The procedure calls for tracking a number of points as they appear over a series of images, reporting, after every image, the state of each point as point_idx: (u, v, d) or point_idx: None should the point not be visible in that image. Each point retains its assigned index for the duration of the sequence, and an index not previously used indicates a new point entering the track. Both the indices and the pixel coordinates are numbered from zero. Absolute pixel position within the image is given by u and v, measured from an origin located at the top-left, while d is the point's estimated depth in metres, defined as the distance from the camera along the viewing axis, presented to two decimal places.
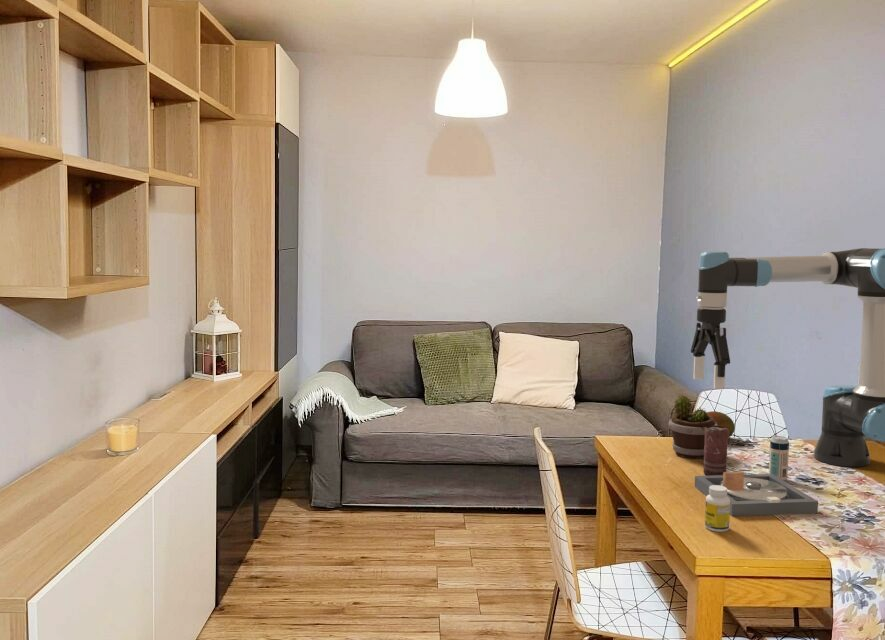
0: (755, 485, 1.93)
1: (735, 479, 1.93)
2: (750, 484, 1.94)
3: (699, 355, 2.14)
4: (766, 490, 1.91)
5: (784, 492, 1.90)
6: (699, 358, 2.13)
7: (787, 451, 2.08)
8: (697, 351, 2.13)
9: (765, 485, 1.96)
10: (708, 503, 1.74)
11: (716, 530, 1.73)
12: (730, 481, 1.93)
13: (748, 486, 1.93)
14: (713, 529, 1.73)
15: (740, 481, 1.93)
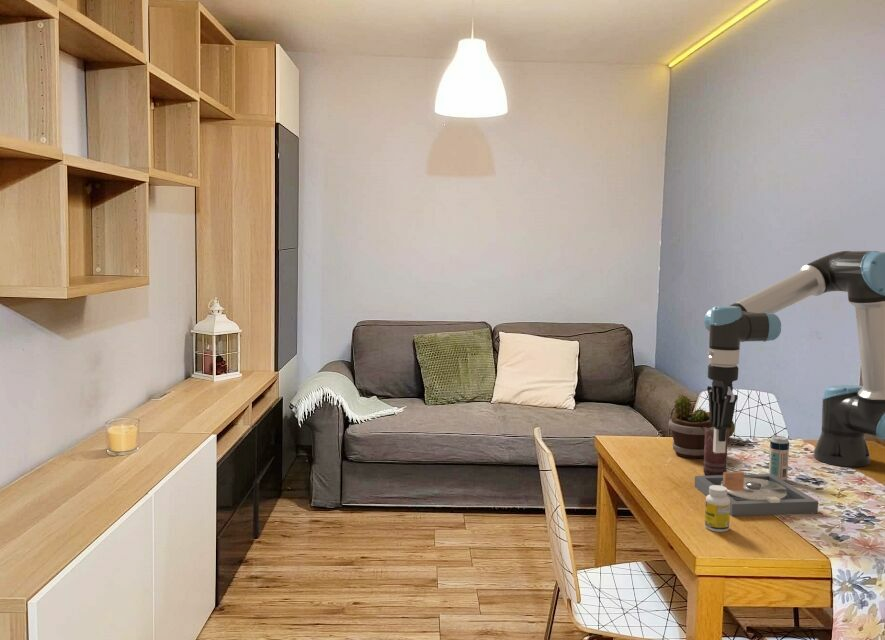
0: (755, 485, 1.93)
1: (735, 479, 1.93)
2: (750, 484, 1.94)
3: None
4: (766, 490, 1.91)
5: (784, 492, 1.90)
6: None
7: (787, 451, 2.08)
8: (716, 418, 1.98)
9: (765, 485, 1.96)
10: (708, 503, 1.74)
11: (716, 530, 1.73)
12: (730, 481, 1.93)
13: (748, 486, 1.93)
14: (713, 529, 1.73)
15: (740, 481, 1.93)
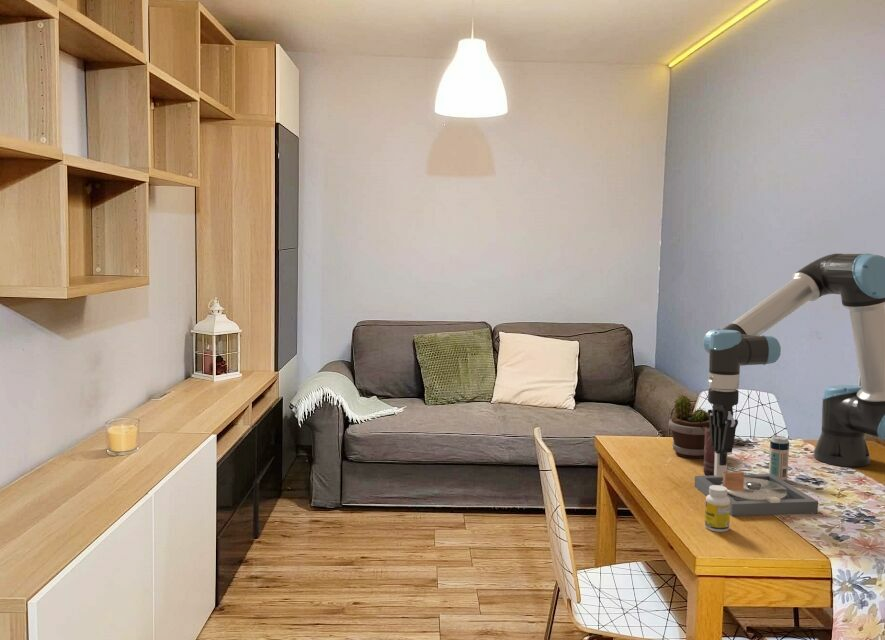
0: (755, 485, 1.93)
1: (735, 479, 1.93)
2: (750, 484, 1.94)
3: None
4: (766, 490, 1.91)
5: (784, 492, 1.90)
6: None
7: (787, 451, 2.08)
8: (717, 442, 1.99)
9: (765, 485, 1.96)
10: (708, 503, 1.74)
11: (716, 530, 1.73)
12: (730, 481, 1.93)
13: (748, 486, 1.93)
14: (713, 529, 1.73)
15: (740, 481, 1.93)
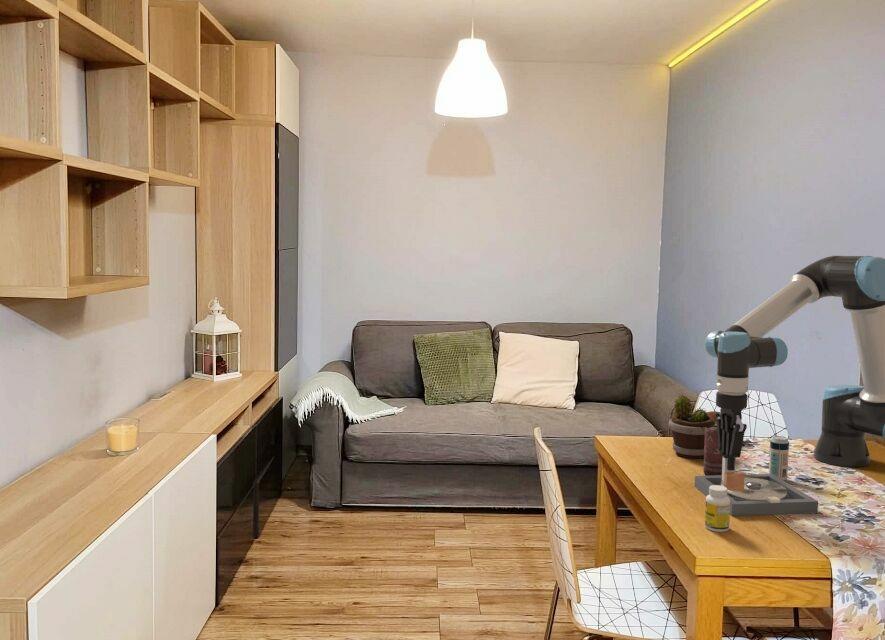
0: (755, 485, 1.93)
1: (736, 479, 1.93)
2: (750, 484, 1.94)
3: None
4: (767, 490, 1.91)
5: (784, 491, 1.90)
6: None
7: (787, 451, 2.08)
8: (724, 446, 1.94)
9: (764, 484, 1.96)
10: (708, 503, 1.74)
11: (716, 530, 1.73)
12: (731, 482, 1.92)
13: (748, 486, 1.93)
14: (713, 529, 1.73)
15: (741, 481, 1.93)
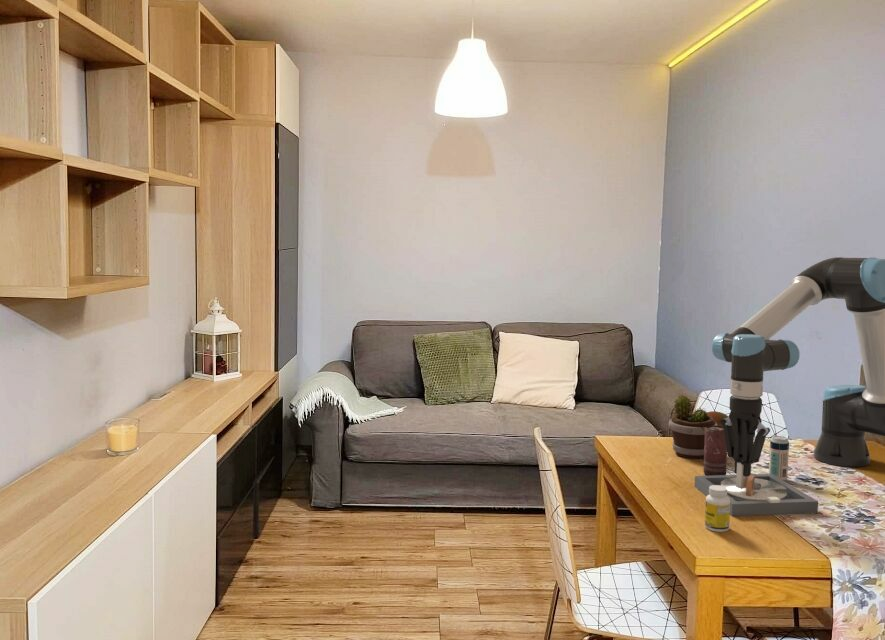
0: (758, 484, 1.93)
1: (753, 484, 1.89)
2: (754, 485, 1.93)
3: (741, 458, 1.89)
4: (767, 487, 1.94)
5: (776, 483, 1.97)
6: None
7: (787, 451, 2.08)
8: (738, 453, 1.89)
9: None
10: (708, 503, 1.74)
11: (716, 530, 1.73)
12: (752, 487, 1.88)
13: (755, 487, 1.92)
14: (713, 529, 1.73)
15: (753, 484, 1.90)
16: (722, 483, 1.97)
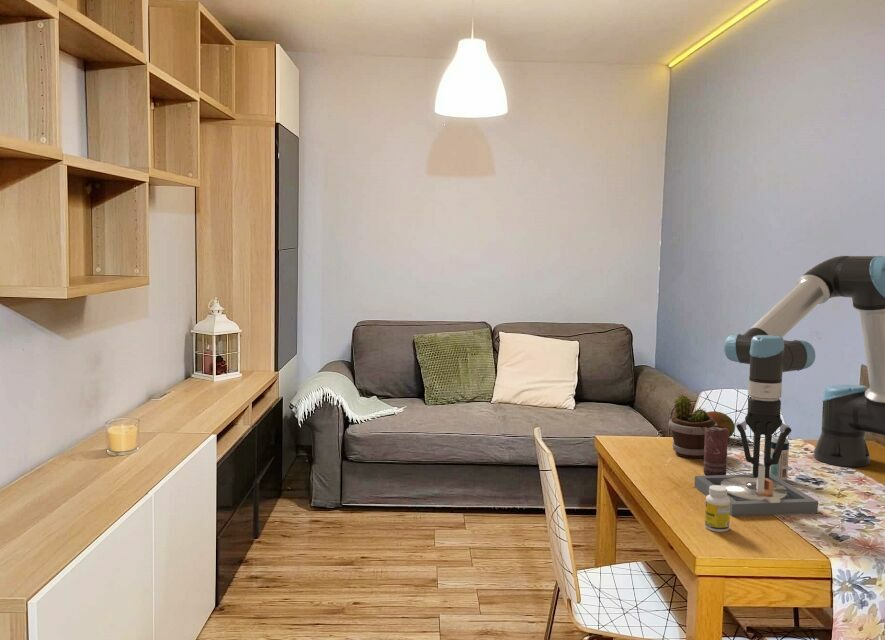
0: None
1: None
2: (756, 485, 1.93)
3: None
4: None
5: None
6: None
7: (787, 451, 2.08)
8: None
9: (741, 482, 1.98)
10: (708, 503, 1.74)
11: (716, 530, 1.73)
12: None
13: None
14: (713, 529, 1.73)
15: None
16: (728, 489, 1.92)
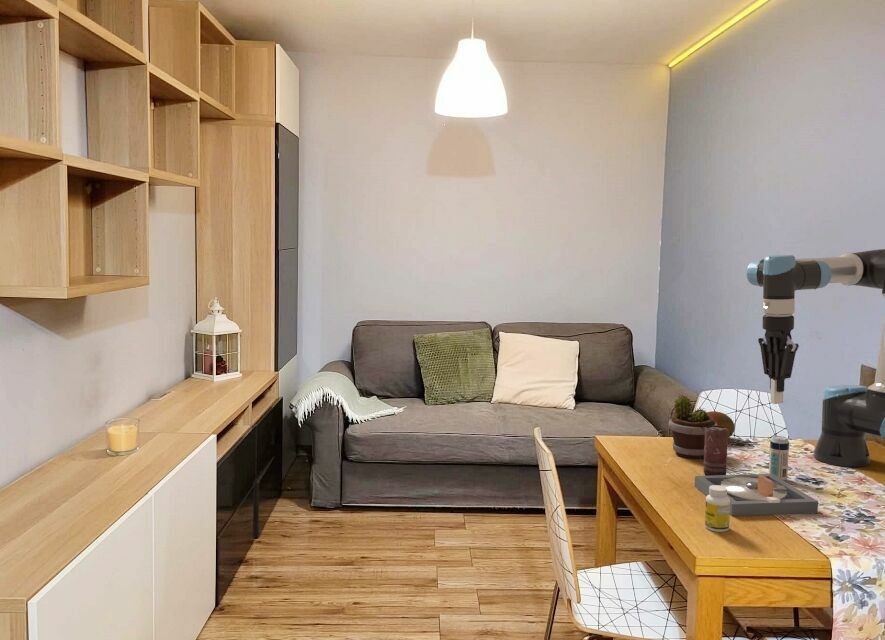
0: (757, 483, 1.94)
1: None
2: (756, 485, 1.93)
3: None
4: None
5: None
6: None
7: (787, 451, 2.08)
8: (772, 369, 1.97)
9: (741, 482, 1.98)
10: (708, 503, 1.74)
11: (716, 530, 1.73)
12: None
13: None
14: (713, 529, 1.73)
15: None
16: (728, 489, 1.92)
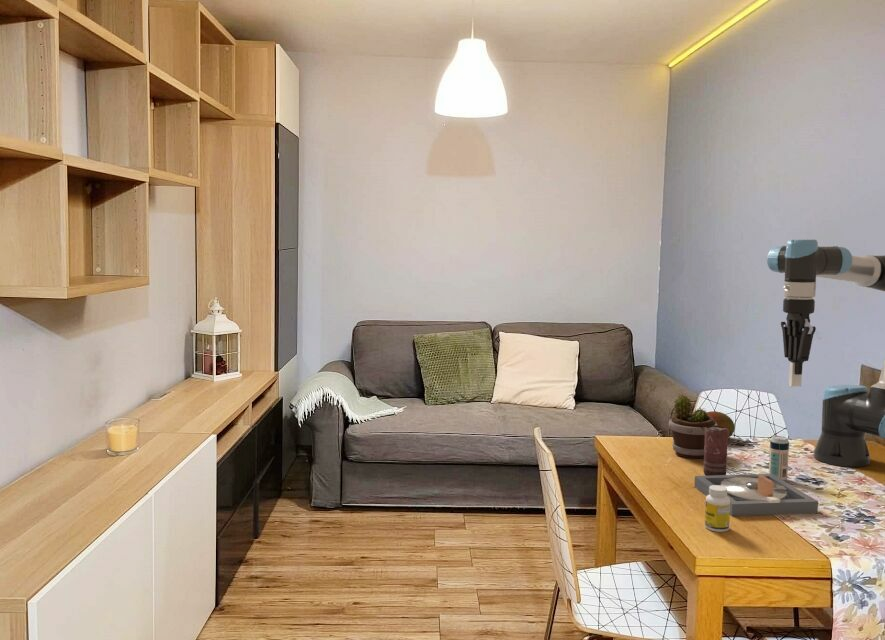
0: (757, 483, 1.94)
1: None
2: (756, 485, 1.93)
3: None
4: None
5: None
6: None
7: (787, 451, 2.08)
8: (791, 352, 1.99)
9: (741, 482, 1.98)
10: (708, 503, 1.74)
11: (716, 530, 1.73)
12: None
13: None
14: (713, 529, 1.73)
15: None
16: (728, 489, 1.92)
